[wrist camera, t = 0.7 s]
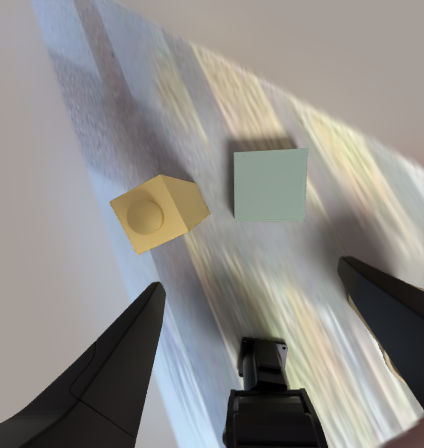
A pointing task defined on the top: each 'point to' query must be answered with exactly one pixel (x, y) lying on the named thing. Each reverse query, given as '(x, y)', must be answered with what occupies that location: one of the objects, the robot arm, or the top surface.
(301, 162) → the plinth brick
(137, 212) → the tower brick
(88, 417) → the robot arm
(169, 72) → the top surface
